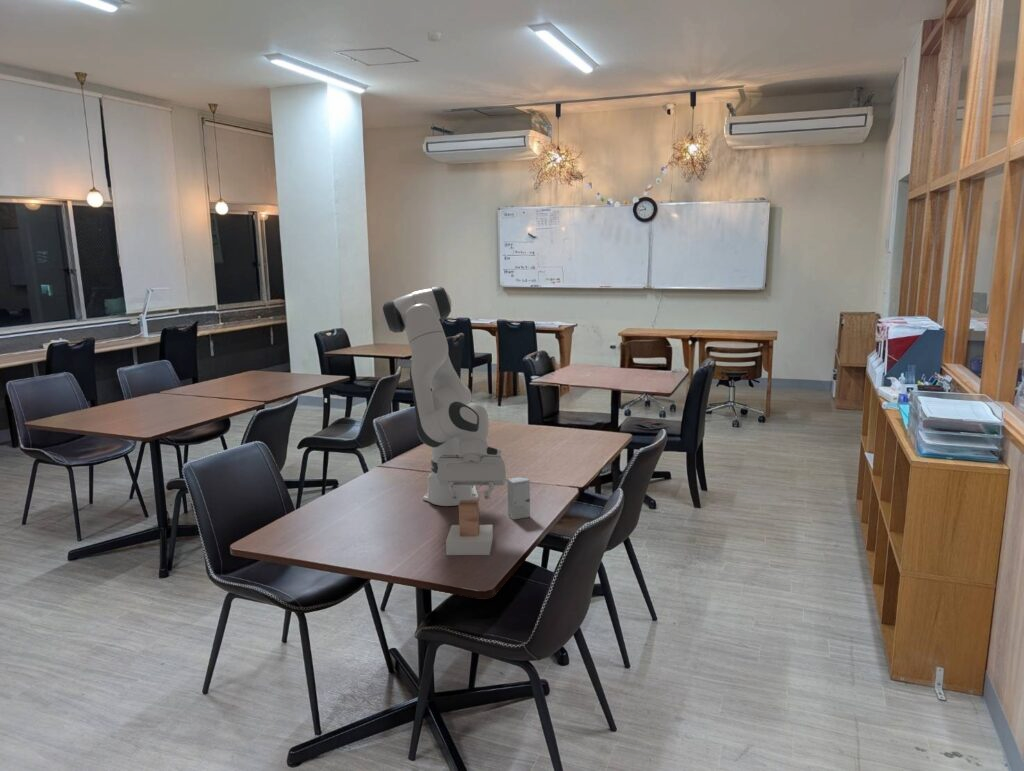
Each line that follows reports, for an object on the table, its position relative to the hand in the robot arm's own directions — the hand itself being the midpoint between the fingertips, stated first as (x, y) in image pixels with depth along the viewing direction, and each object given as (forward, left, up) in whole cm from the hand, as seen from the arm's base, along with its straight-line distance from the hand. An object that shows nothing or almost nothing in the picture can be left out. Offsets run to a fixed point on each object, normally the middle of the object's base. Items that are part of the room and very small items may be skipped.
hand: (470, 497), depth 199 cm
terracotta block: (+3, 0, -9) cm, 10 cm away
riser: (+3, 0, -13) cm, 14 cm away
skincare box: (-20, +13, -13) cm, 27 cm away
